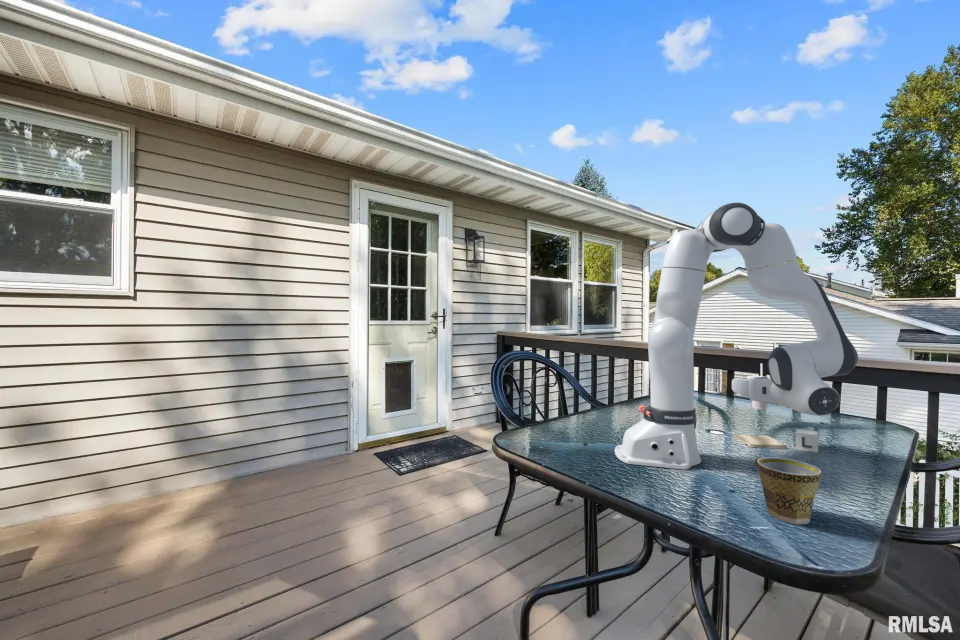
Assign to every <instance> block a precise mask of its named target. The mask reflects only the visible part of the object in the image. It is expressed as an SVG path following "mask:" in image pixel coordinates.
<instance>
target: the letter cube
mask: <svg viewBox="0 0 960 640" xmlns="http://www.w3.org/2000/svg"><path fill="white" fill-rule="evenodd" d="M795 449H796V450H801V451H805V452H812V451H813V452H812V453H819V435H818V430H817V431H815V430H807V429H799V428H795Z"/></svg>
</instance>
